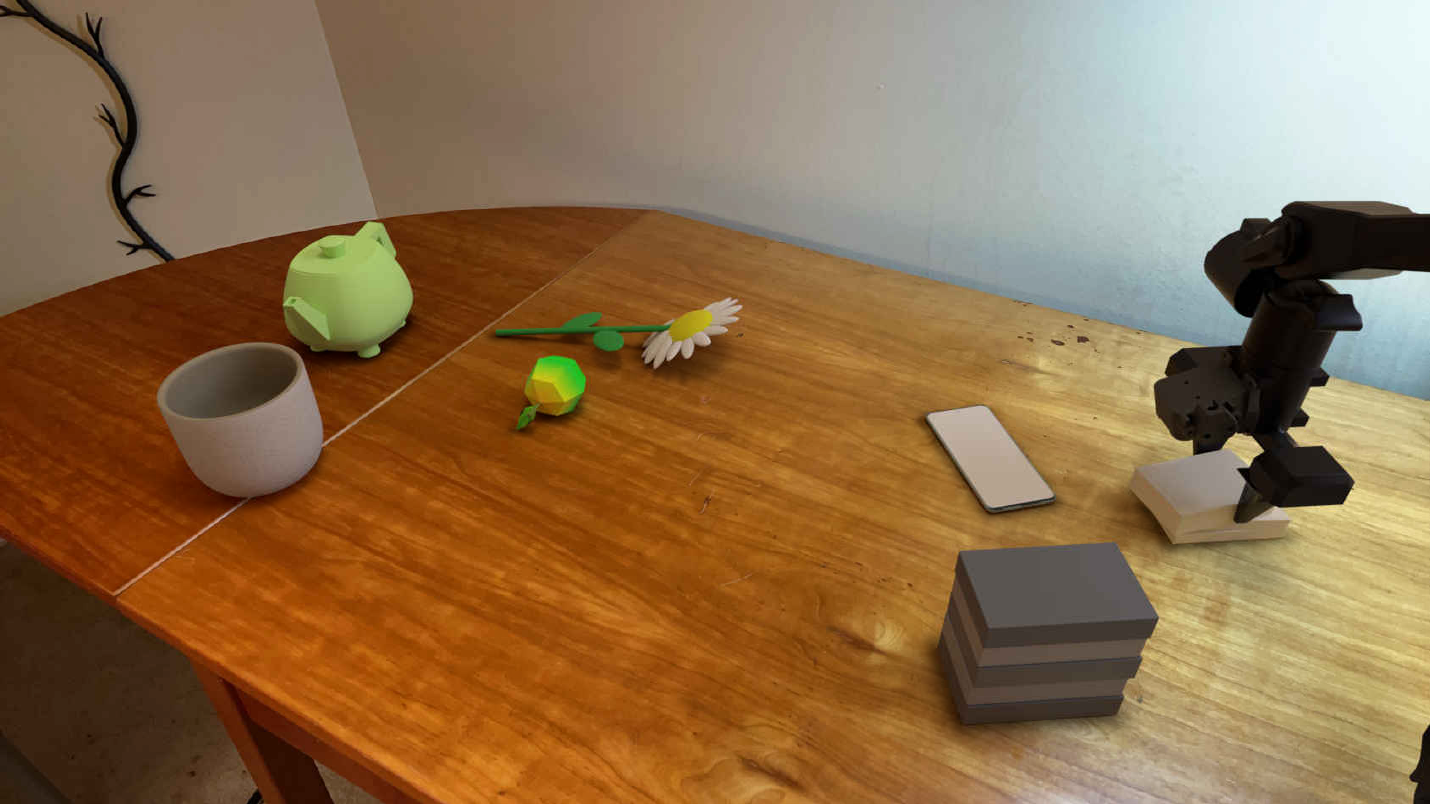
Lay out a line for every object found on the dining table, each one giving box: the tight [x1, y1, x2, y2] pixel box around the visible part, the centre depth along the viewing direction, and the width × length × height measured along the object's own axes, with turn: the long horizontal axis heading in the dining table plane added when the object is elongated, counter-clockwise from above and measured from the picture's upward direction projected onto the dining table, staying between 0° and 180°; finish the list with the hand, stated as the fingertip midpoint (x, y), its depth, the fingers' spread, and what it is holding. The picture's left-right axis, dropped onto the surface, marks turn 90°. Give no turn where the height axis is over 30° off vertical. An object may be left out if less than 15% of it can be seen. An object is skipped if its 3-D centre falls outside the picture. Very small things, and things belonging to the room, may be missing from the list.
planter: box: [156, 341, 324, 498], centre depth 86 cm, size 12×12×11 cm
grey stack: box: [937, 541, 1160, 726], centre depth 66 cm, size 7×12×11 cm, turn 94°
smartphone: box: [925, 404, 1057, 513], centre depth 90 cm, size 7×1×15 cm
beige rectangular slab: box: [1153, 506, 1292, 545], centre depth 83 cm, size 7×10×2 cm
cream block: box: [1128, 447, 1275, 535], centre depth 81 cm, size 6×10×2 cm, turn 105°
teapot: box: [282, 221, 414, 359], centre depth 105 cm, size 20×13×13 cm
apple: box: [516, 354, 587, 431], centre depth 95 cm, size 7×6×9 cm
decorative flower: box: [495, 297, 743, 370], centre depth 105 cm, size 13×5×30 cm
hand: (1218, 493), depth 82 cm, fingers closed on cream block, 7 cm apart
